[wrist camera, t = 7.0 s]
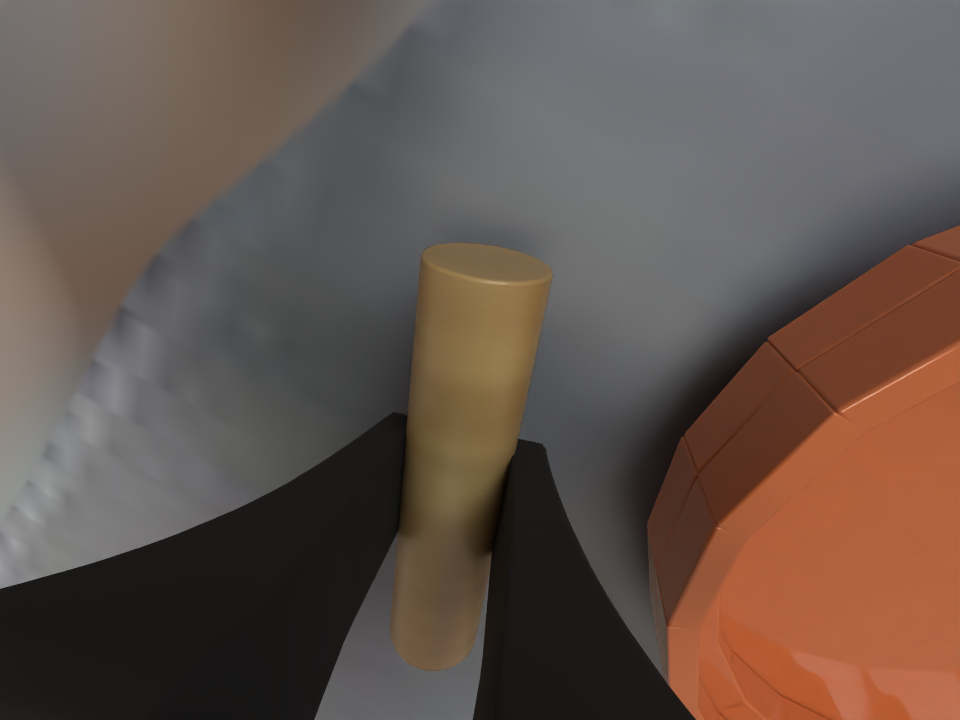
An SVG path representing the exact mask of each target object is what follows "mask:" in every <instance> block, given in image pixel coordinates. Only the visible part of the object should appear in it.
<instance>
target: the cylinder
mask: <svg viewBox="0 0 960 720" xmlns="http://www.w3.org/2000/svg"><path fill="white" fill-rule="evenodd" d="M552 277H553V274H552V270H551V268H550V267H549V266H548V265H547V264H546V263H544V262H542V261H541V260H539V259H537V258H535V257H532V256H530V255H527V254H525V253H522V252H518V251H515V250H511V249H507V248H502V247H497V246H491V245H484V244H474V243H446V244H439V245H434V246H431V247H428V248H427V249H425V250H424V251H423V253H422V254H421V260H420V272H419V284H418V296H417V308H416V320H415V332H414V344H413V356H412V368H411V380H410V392H409V404H408V416H407V428H406V444H405V456H404V468H403V480H402V492H401V503H400V515H399V527H398V536H397V548H396V560H395V572H394V584H393V596H392V609H391V621H390V635H391V640H392V643H393V645H394V648H395V649H396V651H397V652H398V654H399V655H400V656H401V657H402V658H403V659H404V660H405V661H406V662H407V663H409V664H410V665H412V666H414V667H416V668H419V669H422V670H427V671H441V670H445V669H448V668H451V667H453V666H455V665H457V664H458V663H459V662H461V661H462V660H463V659H464V658H465V657H466V656H467V655H468V654H469V653H470V651H471V649H472V648H473V645H474V643H475V640H476V635H477V631H478V626H479V621H480V617H481V612H482V607H483V602H484V598H485V593H486V588H487V584H488V579H489V574H490V566H491V555H492V548H493V543H494V539H495V534H496V529H497V524H498V520H499V515H500V510H501V505H502V500H503V496H504V491H505V486H506V481H507V476H508V472H509V467H510V462H511V457H512V456H513V455H514V454H515V451H516V447H517V442H518V437H519V433H520V428H521V423H522V419H523V414H524V409H525V404H526V400H527V395H528V390H529V386H530V381H531V376H532V372H533V367H534V362H535V357H536V353H537V348H538V343H539V339H540V334H541V329H542V324H543V320H544V315H545V310H546V306H547V301H548V296H549V291H550V287H551V282H552Z"/></svg>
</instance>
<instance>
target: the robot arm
mask: <svg viewBox="0 0 960 720" xmlns="http://www.w3.org/2000/svg"><path fill="white" fill-rule="evenodd" d="M407 416H408V415H404V414H399V413H395V412H393V413H392V414H390V415H388V416H387V417H386V418H384V419H383V420H381V421H380V422H379V423H377V424H376V425H375V426H373V427H372V428H370V429H369V430H368V431H366V432H365V433H364V434H362V435H361V436H359V437H358V438H357V439H355V440H354V441H352V442H351V443H349V444H348V445H347V446H345V447H344V448H342V449H341V450H339V451H338V452H336V453H335V454H333V455H332V456H330V457H329V458H327V459H326V460H324V461H323V462H321V463H320V464H318V465H316V466H315V467H313V468H311V469H310V470H308V471H307V472H305V473H303V474H302V475H300V476H298V477H297V478H295V479H293V480H292V481H290V482H288V483H287V484H285V485H283V486H281V487H279V488H278V489H276V490H274V491H272V492H270V493H268V494H266V495H264V496H262V497H260V498H258V499H256V500H254V501H252V502H250V503H248V504H246V505H244V506H242V507H240V508H238V509H236V510H233V511H231V512H229V513H226V514H224V515H222V516H219V517H217V518H215V519H212V520H210V521H207V522H205V523H203V524H200V525H198V526H196V527H193V528H191V529H188V530H186V531H184V532H181V533H179V534H176V535H173V536H171V537H168V538H165V539H163V540H160V541H157V542H154V543H152V544H149V545H146V546H143V547H140V548H137V549H134V550H131V551H128V552H125V553H122V554H120V555H117V556H114V557H111V558H107V559H104V560H101V561H98V562H95V563H91V564H88V565H85V566H81V567H78V568H74V569H71V570H67V571H63V572H60V573H56V574H53V575H49V576H46V577H42V578H39V579H35V580H32V581H28V582H24V583H21V584H17V585H13V586H9V587H6V588H2V589H0V720H314V719H315V716H316V714H317V711H318V708H319V705H320V703H321V700H322V697H323V695H324V692H325V690H326V687H327V684H328V682H329V679H330V677H331V674H332V671H333V669H334V666H335V664H336V661H337V659H338V656H339V653H340V651H341V648H342V646H343V643H344V641H345V639H346V636H347V634H348V632H349V630H350V627H351V625H352V623H353V621H354V619H355V617H356V615H357V613H358V611H359V609H360V607H361V605H362V603H363V601H364V598H365V596H366V594H367V592H368V590H369V588H370V586H371V584H372V582H373V580H374V578H375V576H376V574H377V572H378V570H379V568H380V566H381V564H382V562H383V560H384V558H385V556H386V554H387V552H388V550H389V548H390V546H391V544H392V542H393V540H394V538H395V536H396V534H397V532H398V527H399V515H400V503H401V492H402V480H403V468H404V456H405V444H406V428H407ZM473 720H696V719H695V718H694V716H693V715H692V714H691V713H690V712H689V710H688V709H687V708H686V707H685V705H684V704H683V703H682V701H681V700H680V699H679V698H678V696H677V695H676V694H675V693H674V691H673V690H672V689H671V688H670V686H669V685H668V684H667V682H666V681H665V680H664V678H663V677H662V676H661V674H660V673H659V671H658V670H657V669H656V667H655V666H654V664H653V663H652V662H651V660H650V659H649V657H648V656H647V654H646V653H645V652H644V650H643V649H642V647H641V646H640V645H639V643H638V642H637V640H636V639H635V638H634V636H633V635H632V633H631V632H630V631H629V629H628V628H627V626H626V625H625V623H624V621H623V620H622V618H621V617H620V615H619V614H618V612H617V610H616V609H615V607H614V606H613V604H612V602H611V601H610V599H609V597H608V596H607V594H606V592H605V591H604V589H603V587H602V585H601V584H600V582H599V580H598V579H597V577H596V575H595V573H594V571H593V569H592V567H591V566H590V564H589V562H588V560H587V558H586V556H585V554H584V552H583V550H582V548H581V546H580V544H579V541H578V539H577V537H576V535H575V533H574V531H573V528H572V526H571V524H570V522H569V519H568V517H567V514H566V512H565V509H564V507H563V504H562V502H561V499H560V497H559V494H558V491H557V488H556V485H555V482H554V479H553V476H552V473H551V469H550V466H549V462H548V458H547V453H546V449H545V447H544V446H543V444H540V443H536V442H531V441H526V440H522V439H518V442H517V447H516V451H515V454H514V455H513V456H512V457H511V462H510V467H509V472H508V476H507V481H506V486H505V491H504V496H503V500H502V505H501V510H500V515H499V520H498V524H497V529H496V534H495V539H494V543H493V548H492V555H491V566H490V578H489V589H488V601H487V613H486V625H485V637H484V648H483V658H482V666H481V674H480V681H479V687H478V693H477V699H476V705H475V711H474V717H473Z"/></svg>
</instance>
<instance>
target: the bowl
mask: <svg viewBox="0 0 960 720" xmlns="http://www.w3.org/2000/svg"><path fill="white" fill-rule="evenodd" d="M767 339H768V341H769V342H768V341H766V342H764V343H763V344H762V345H761V346H760V348H759V349H758V350H757V351H756V352H755V353H754V354H753V356H752V357H751V358H750V359H749V360H748V361H747V362H746V364H745V365H744V366H743V367H742V368H741V369H740V370H739V372H738V373H737V374H736V375H735V376H734V377H733V378H732V380H731V381H730V382H729V383H728V384H727V385H726V386H725V388H724V389H723V390H722V391H721V392H720V393H719V394H718V396H717V397H716V398H715V399H714V400H713V401H712V402H711V404H710V405H709V406H708V407H707V408H706V409H705V410H704V412H703V413H702V414H701V415H700V416H699V417H698V418H697V420H696V421H695V422H694V423H693V424H692V425H691V426H690V428H689V429H688V430H687V431H686V432H685V434H684V436H682V437H681V439H680V442H679V444H678V447H677V449H676V452H675V454H674V457H673V459H672V462H671V464H670V467H669V469H668V472H667V474H666V477H665V479H664V482H663V484H662V487H661V490H660V492H659V495H658V497H657V500H656V502H655V505H654V507H653V510H652V512H651V515H650V517H649V520H648V522H647V523H648V527H647V542H648V564H649V587H650V602H651V608H652V613H653V619H654V625H655V631H656V636H657V642H658V647H659V655H660V660H661V666H662V672H663V678H664V680H665V681H666V682H667V684H668V685H669V686H670V688H671V689H672V690H673V691H674V693H675V694H676V695H677V696H678V698H679V699H680V700H681V701H682V703H683V704H684V705H685V707H686V708H687V709H688V710H689V712H690V713H691V714H692V715H693V716H694V718H695V719H696V720H960V225H959V226H956V227H954V228H951V229H948V230H946V231H943V232H940V233H938V234H935V235H932V236H930V237H927V238H925V239H922V240H919V241H917V242H914V243H913V244H912V246H911V245H906V246H904V247H903V248H901V249H900V250H898V251H897V252H895V253H894V254H892V255H891V256H889V257H888V258H886V259H885V260H883V261H882V262H880V263H879V264H877V265H876V266H874V267H873V268H871V269H870V270H868V271H867V272H865V273H864V274H862V275H861V276H859V277H858V278H856V279H855V280H853V281H852V282H850V283H849V284H847V285H846V286H844V287H843V288H841V289H840V290H838V291H837V292H835V293H834V294H832V295H831V296H829V297H828V298H826V299H825V300H823V301H822V302H820V303H819V304H817V305H816V306H814V307H813V308H811V309H810V310H808V311H807V312H805V313H804V314H802V315H801V316H799V317H798V318H796V319H795V320H793V321H792V322H790V323H789V324H787V325H786V326H784V327H783V328H781V329H780V330H778V331H777V332H775V333H774V334H772V335H771V336H769V337H768V338H767Z"/></svg>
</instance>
